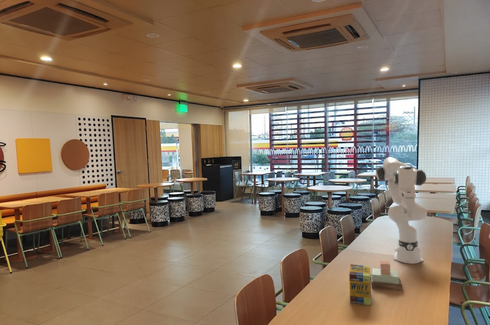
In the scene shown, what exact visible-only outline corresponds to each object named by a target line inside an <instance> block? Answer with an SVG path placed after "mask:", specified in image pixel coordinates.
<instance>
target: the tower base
mask: <svg viewBox="0 0 490 325" xmlns="http://www.w3.org/2000/svg"><path fill="white" fill-rule="evenodd" d="M370 280H371V289H379V290H389V291H390V290H392V291H402V292H403V283H402V280H401V277H399V284H393V283H384V282H375V281H372V273H370Z"/></svg>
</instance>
